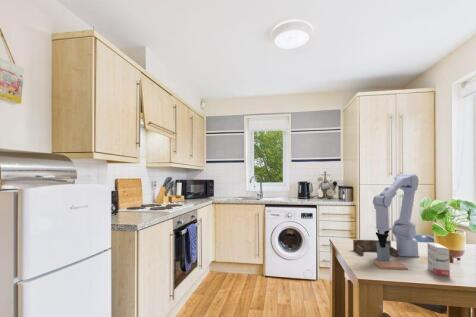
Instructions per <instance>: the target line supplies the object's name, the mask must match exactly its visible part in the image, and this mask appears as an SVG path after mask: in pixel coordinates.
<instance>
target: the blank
mask: <svg viewBox="0 0 476 317" xmlns="http://www.w3.org/2000/svg"><path fill="white" fill-rule="evenodd" d="M390 255H391V254H390V253H389V245H388V244H386V246H385V248H382V247H380V244H379V242H377V251H376V259H378V260H379V259H380V260H379V261H391V259H390Z"/></svg>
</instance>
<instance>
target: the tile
mask: <svg viewBox="0 0 476 317" xmlns="http://www.w3.org/2000/svg"><path fill="white" fill-rule="evenodd" d="M372 263H373V264H374V265H375V266H376V267H378V268H379V269H381V270H402V271H403V270H406V271H408V270H409V267H407V266H406V265H405V264H403V263H402V262H401V261H396V260H395V261H393V260H390V261H381V260H373V262H372Z"/></svg>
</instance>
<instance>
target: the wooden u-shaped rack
mask: <svg viewBox="0 0 476 317" xmlns="http://www.w3.org/2000/svg"><path fill="white" fill-rule="evenodd" d="M377 242H379V240H378V239H352V244H353V246H352V247H353V248H352V250H353V251H356V253H358V254H359V255H360V256H362V257H363V256H364V252H377ZM386 244H388V245H389V253H390V255H392V256H393V257H394V258H398V254H397V248H394V247H393V246H392V242H391V240H387V241H386Z"/></svg>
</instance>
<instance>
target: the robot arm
mask: <svg viewBox="0 0 476 317" xmlns="http://www.w3.org/2000/svg"><path fill="white" fill-rule="evenodd" d="M393 180H394V181H392V183H391V185H390V186H385V188H384V189H383V190H382V191H381V192H380V193H379V194H378V195H375V196H374V197H373V200H372V203H373V207H374V210H375V224H376V225H375V226H376V227H375V229H376V231H377V232H376V231H375V235H376V237H377V240H379V244H380V247H382V248H385V246H386V241H387V239H388V238H389V236H390V234H389V233H390V231H392V232H391V233H392V234H393V235H394V237H395V242H396V250H397V256H399V257H417V258H418V257H420V255H419V244H418V243H419V242H418V240H417V239H416V238H415V237H416V233H417V232H416V225H415V224H414V223H413V222H412V221H411V219H412V212H413V207H414V202H415V194H416V191H417V190H418V188H419V187H418V186H419V178H418V176H417V174H415V173H409V174H407V173H406V174H405V173H402V174H400V173H398V174H396V175H395V176H394V179H393ZM399 189H400V190H401V191H402V192H403V194H402V195H403V196H402V201H401V206H400V213H399V218H398V219H396V220H394V222H393V226H392V227H390V221H389V220H390V218H389V207H390V206H391V204H392V200H393V199H394V198H395V197H396V195H397V191H398V190H399Z"/></svg>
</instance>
